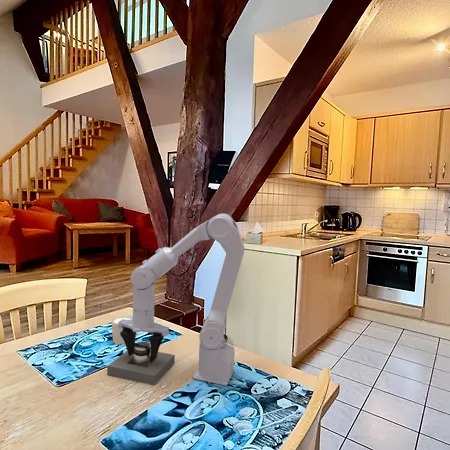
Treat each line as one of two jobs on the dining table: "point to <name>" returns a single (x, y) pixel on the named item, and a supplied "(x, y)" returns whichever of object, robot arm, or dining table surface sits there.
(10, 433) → the dining table surface
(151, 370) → the square peg hole
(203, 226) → the robot arm
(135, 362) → the lens
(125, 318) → the white cylinder
